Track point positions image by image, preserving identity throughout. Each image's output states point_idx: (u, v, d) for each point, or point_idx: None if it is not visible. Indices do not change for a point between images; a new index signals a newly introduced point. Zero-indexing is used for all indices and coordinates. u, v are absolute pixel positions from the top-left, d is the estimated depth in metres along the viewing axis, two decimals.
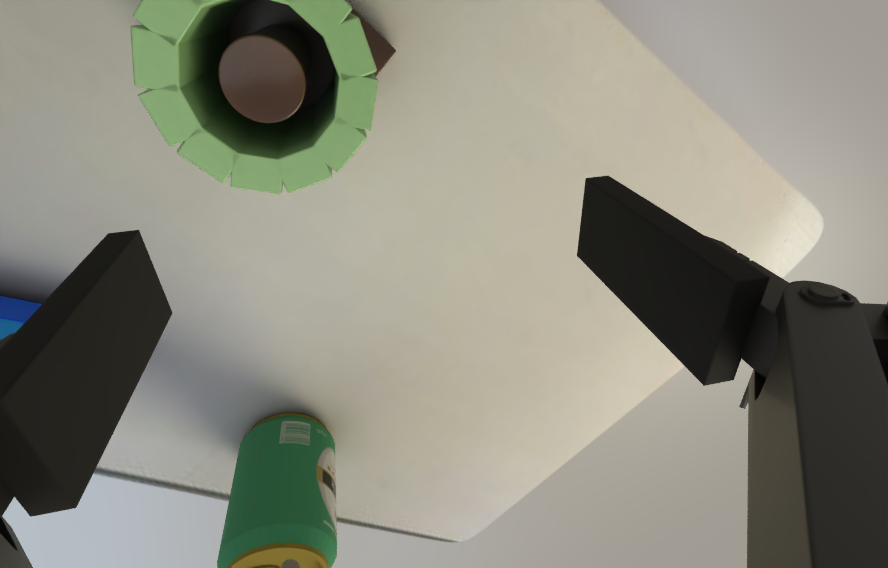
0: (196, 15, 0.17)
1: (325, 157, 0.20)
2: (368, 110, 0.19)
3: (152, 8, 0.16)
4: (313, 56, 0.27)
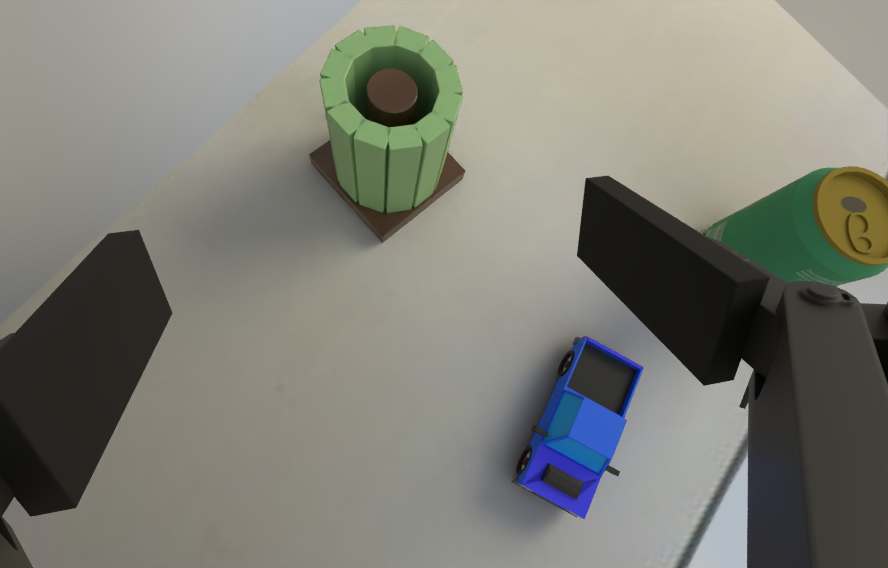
0: (352, 105, 0.29)
1: (442, 64, 0.30)
2: (416, 34, 0.31)
3: (346, 123, 0.28)
4: None
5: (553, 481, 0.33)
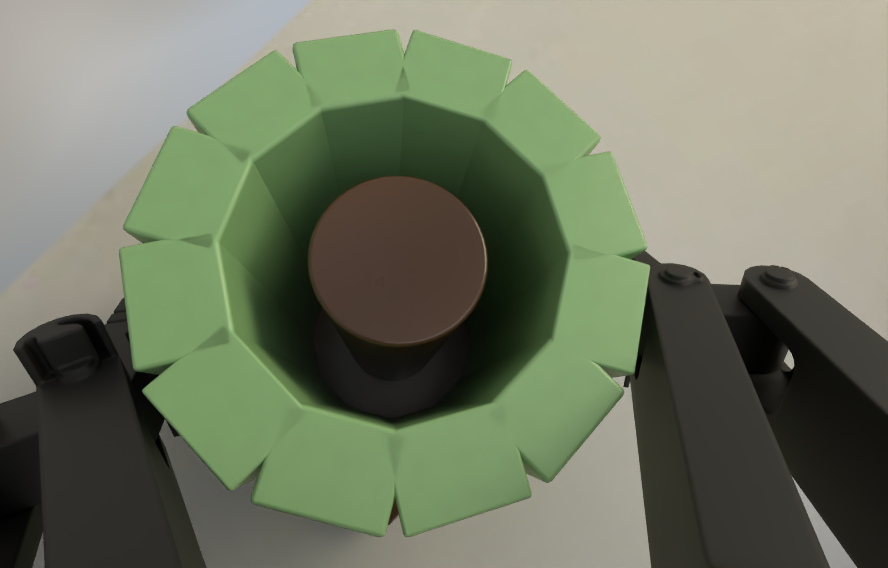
0: (248, 348, 0.07)
1: (567, 154, 0.09)
2: (472, 55, 0.09)
3: (219, 439, 0.07)
4: None
5: None
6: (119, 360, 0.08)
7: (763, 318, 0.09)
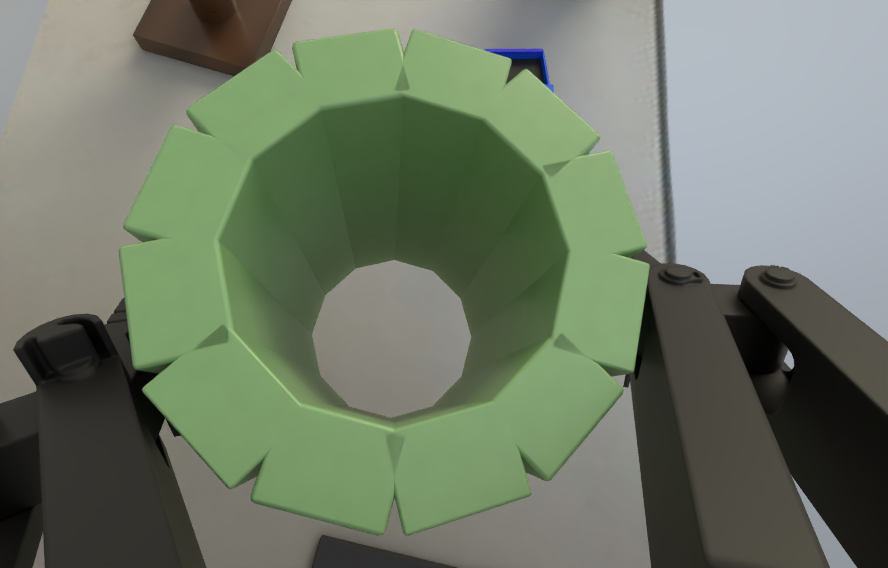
0: (248, 346, 0.07)
1: (566, 153, 0.09)
2: (471, 54, 0.09)
3: (219, 437, 0.07)
4: None
5: None
6: (119, 360, 0.08)
7: (763, 318, 0.09)
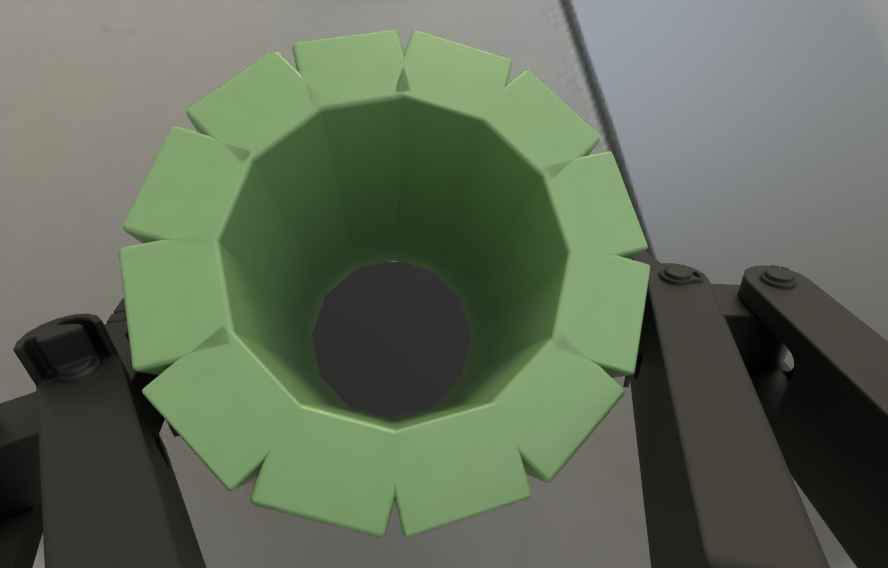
0: (248, 348, 0.07)
1: (567, 154, 0.09)
2: (471, 55, 0.09)
3: (219, 439, 0.07)
4: None
5: None
6: (119, 360, 0.08)
7: (763, 318, 0.09)
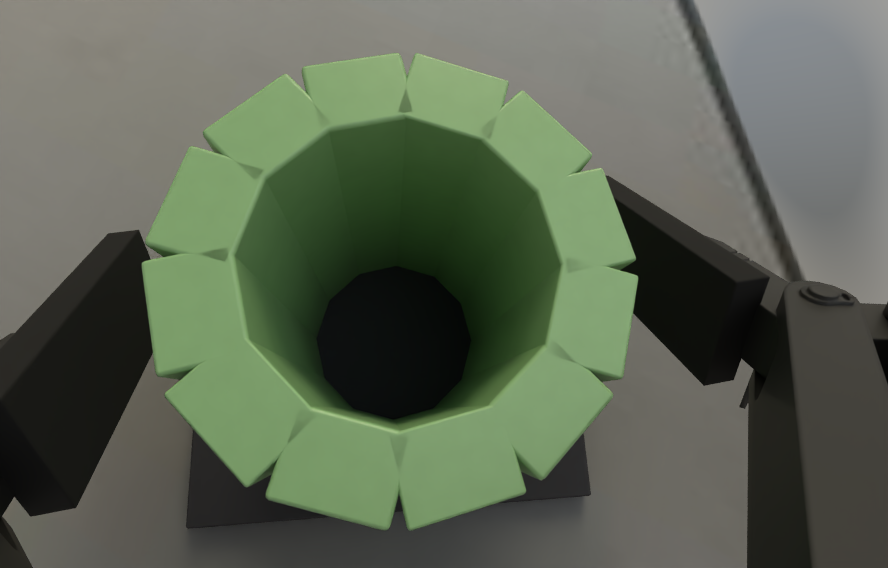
0: (262, 354, 0.08)
1: (560, 171, 0.09)
2: (470, 77, 0.10)
3: (236, 439, 0.07)
4: None
5: None
6: None
7: None
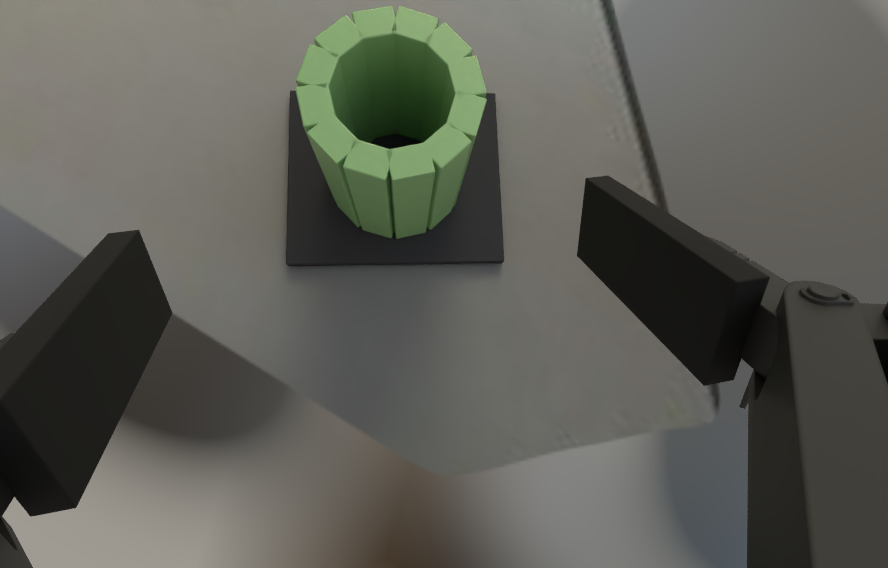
0: (340, 121, 0.22)
1: (458, 56, 0.23)
2: (422, 16, 0.23)
3: (332, 147, 0.21)
4: None
5: None
6: None
7: None
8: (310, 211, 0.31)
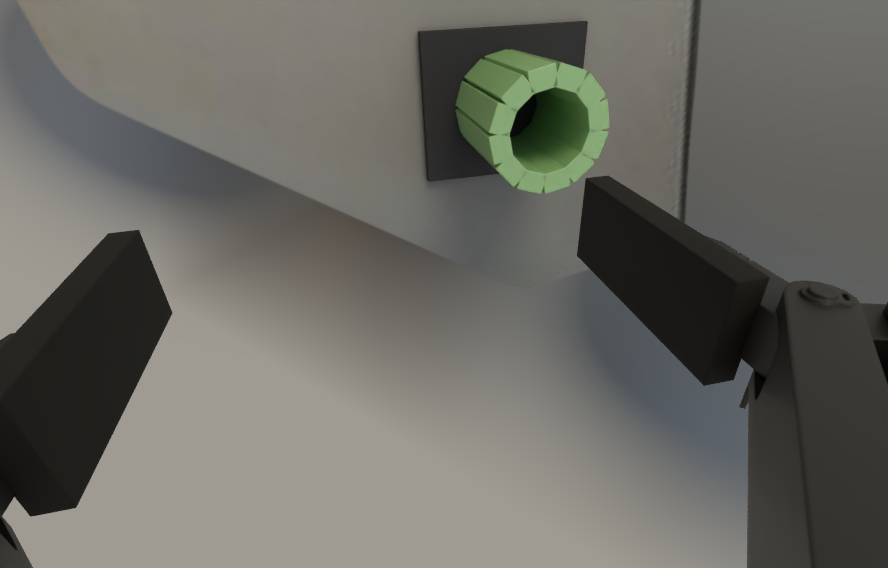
0: (516, 158, 0.33)
1: (595, 102, 0.33)
2: (576, 70, 0.31)
3: (511, 177, 0.34)
4: None
5: None
6: None
7: None
8: (442, 140, 0.42)
